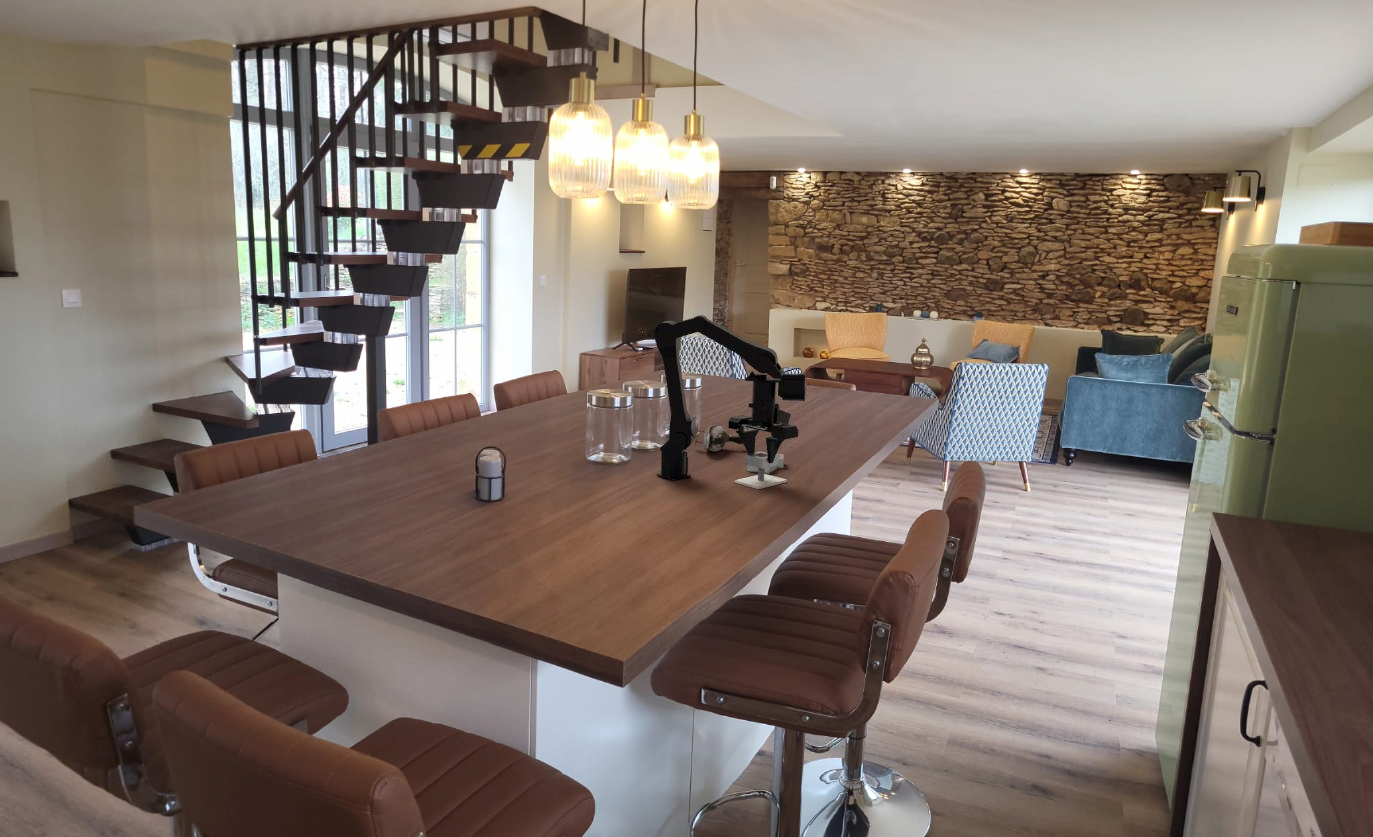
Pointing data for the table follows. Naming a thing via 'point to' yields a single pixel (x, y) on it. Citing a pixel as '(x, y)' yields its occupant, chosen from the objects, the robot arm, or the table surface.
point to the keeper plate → (760, 480)
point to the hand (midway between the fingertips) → (761, 460)
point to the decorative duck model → (716, 438)
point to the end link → (760, 460)
